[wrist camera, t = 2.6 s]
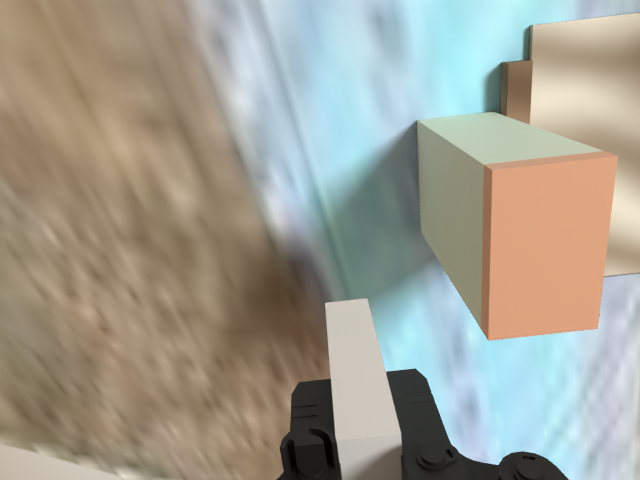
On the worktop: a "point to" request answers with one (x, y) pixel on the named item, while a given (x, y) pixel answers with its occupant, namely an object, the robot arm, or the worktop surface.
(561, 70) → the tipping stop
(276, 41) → the worktop surface
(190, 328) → the worktop surface
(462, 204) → the sage block
